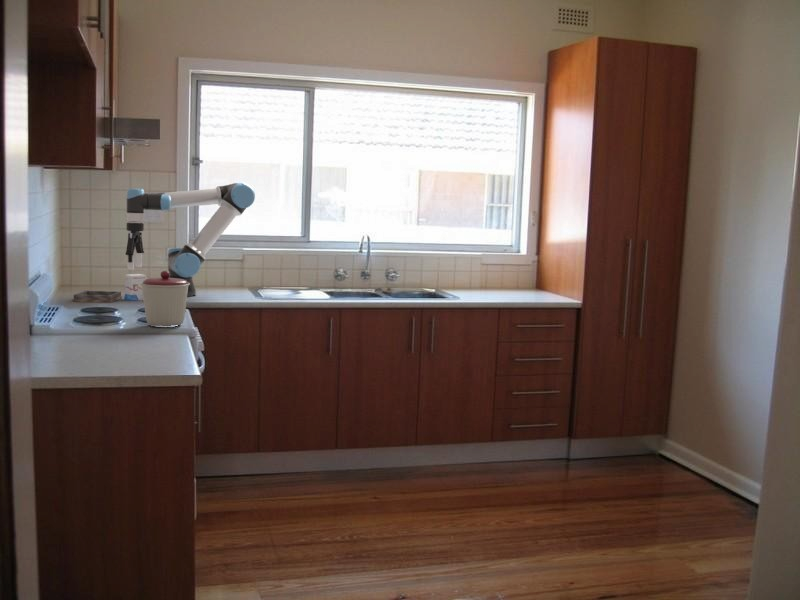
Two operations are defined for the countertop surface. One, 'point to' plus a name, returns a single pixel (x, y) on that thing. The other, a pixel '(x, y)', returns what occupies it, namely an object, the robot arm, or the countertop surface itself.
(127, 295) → the ink box
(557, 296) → the countertop surface
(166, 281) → the canister
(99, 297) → the brown shallow square tray
